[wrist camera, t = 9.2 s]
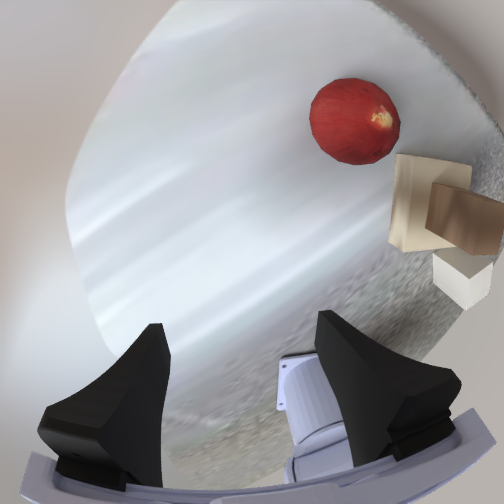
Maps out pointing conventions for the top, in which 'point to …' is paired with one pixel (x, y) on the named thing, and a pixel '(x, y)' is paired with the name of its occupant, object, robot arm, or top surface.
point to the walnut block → (465, 219)
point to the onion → (354, 121)
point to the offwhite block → (462, 275)
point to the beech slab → (420, 199)
